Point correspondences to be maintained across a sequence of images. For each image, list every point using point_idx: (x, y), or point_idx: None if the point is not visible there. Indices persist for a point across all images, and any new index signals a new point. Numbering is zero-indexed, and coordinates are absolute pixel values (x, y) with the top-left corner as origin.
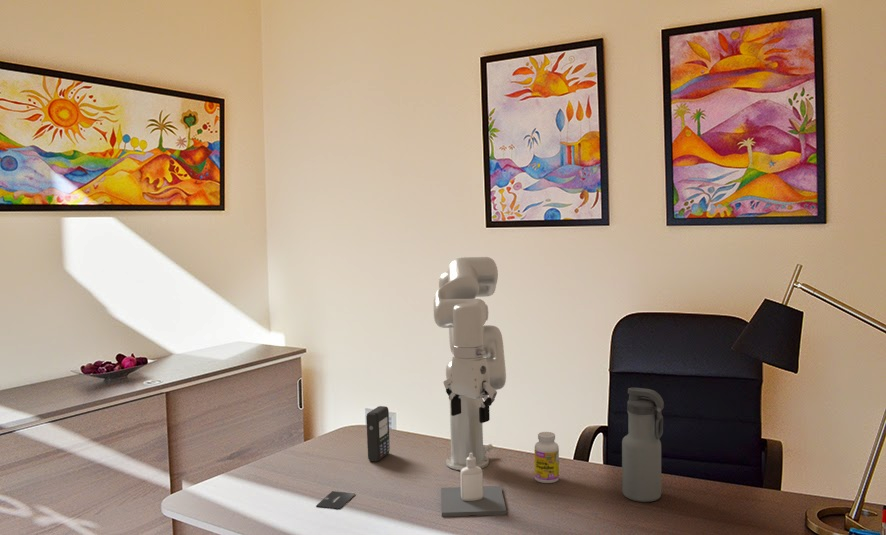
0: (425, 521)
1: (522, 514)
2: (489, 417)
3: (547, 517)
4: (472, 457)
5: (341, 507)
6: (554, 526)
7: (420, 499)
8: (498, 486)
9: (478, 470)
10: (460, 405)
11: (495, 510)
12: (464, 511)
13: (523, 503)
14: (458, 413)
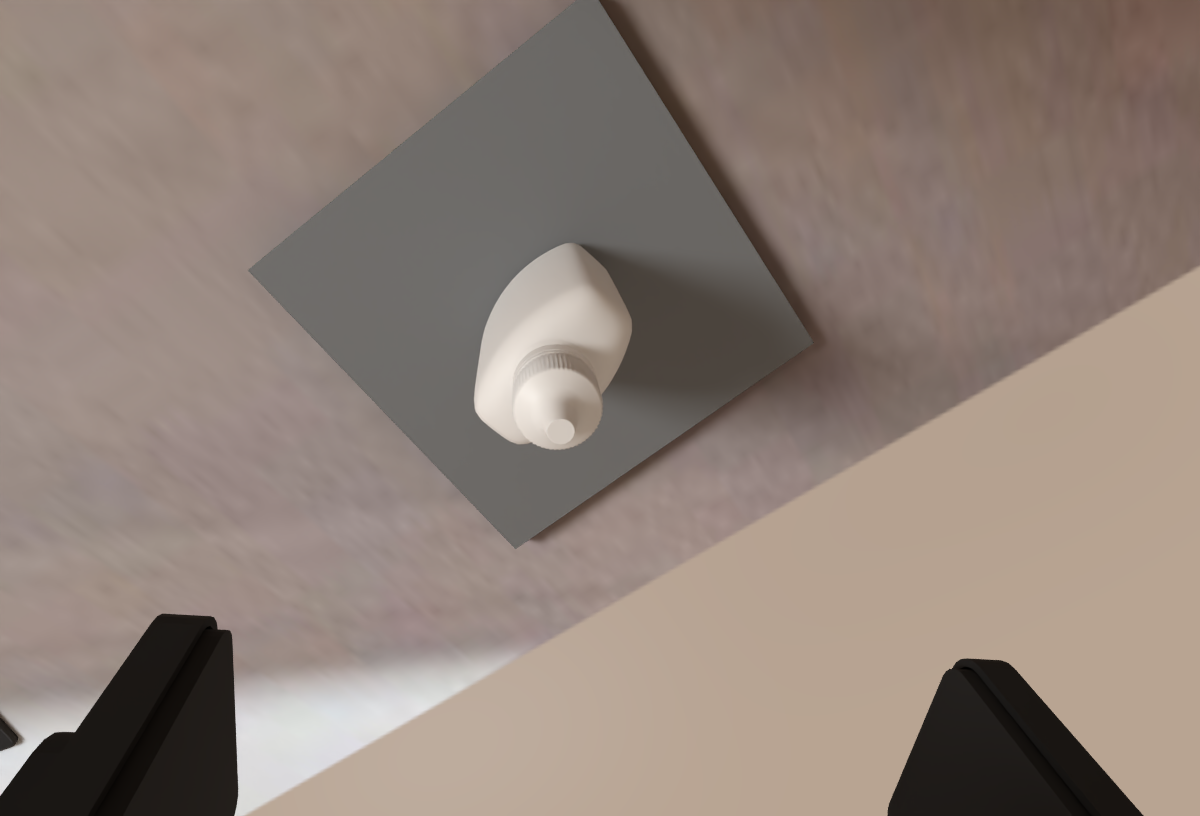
0: (482, 613)
1: (884, 283)
2: (1032, 691)
3: (1025, 241)
4: (578, 420)
5: (8, 734)
6: (1084, 320)
7: (250, 434)
8: (584, 10)
9: (618, 361)
10: (143, 797)
11: (758, 375)
12: (612, 476)
13: (834, 135)
14: (226, 701)
